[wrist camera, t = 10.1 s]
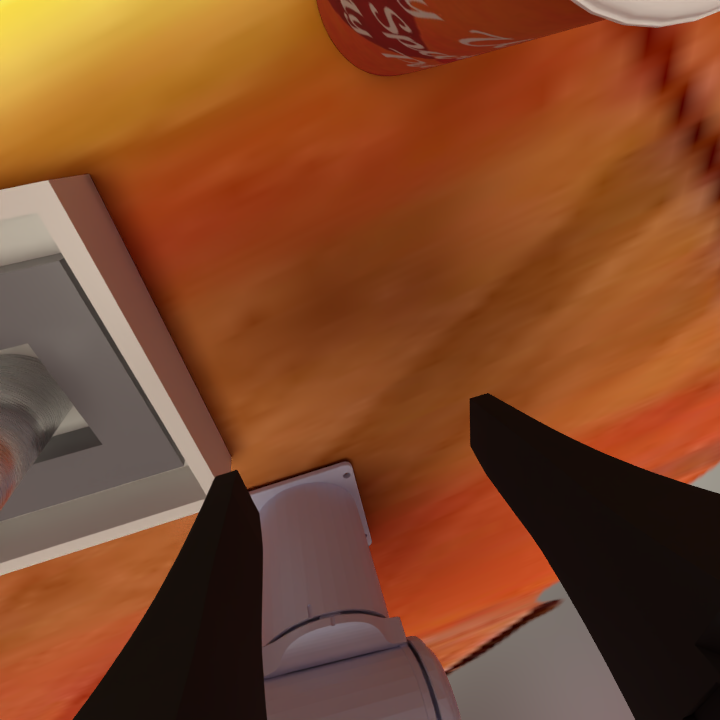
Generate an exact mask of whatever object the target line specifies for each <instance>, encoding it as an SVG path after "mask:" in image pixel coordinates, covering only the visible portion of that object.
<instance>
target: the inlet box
mask: <svg viewBox="0 0 720 720" xmlns="http://www.w3.org/2000/svg"><path fill="white" fill-rule="evenodd" d="M3 354H20V355H27V356H31V357H35V358H38V359H40V361H41V362H42V363H43V365H44V366H45V367H46V369H47V370H48V371H49V373H50V374H51V375H52V377H53V378H54V380H55V381H56V382H57V384H58V385H59V386H60V388H61V389H62V390H63V392H64V393H65V394H66V396H67V397H68V398H69V400H70V401H71V402H72V404H73V407H72V408H71V410H70V411H69V413H68V414H67V416H66V417H65V419H64V420H63V422H62V423H61V424H60V426H59V427H58V429H57V430H56V432H55V433H54V434H53V436H52V437H51V439H50V440H49V442H48V443H47V444H46V446H45V447H44V449H43V450H42V452H41V453H40V455H39V456H38V457H37V459H36V460H35V462H34V463H33V465H32V466H31V467H30V469H29V470H28V472H27V473H26V475H25V476H24V478H23V479H22V480H21V482H20V483H19V485H18V486H17V488H16V489H15V490H14V492H13V493H12V495H11V496H10V498H9V499H8V500H7V502H6V503H5V505H4V506H3V508H2V509H1V511H0V575H3V574H7V573H10V572H13V571H16V570H19V569H22V568H25V567H28V566H32V565H35V564H38V563H41V562H44V561H47V560H50V559H54V558H57V557H60V556H63V555H66V554H69V553H72V552H76V551H79V550H82V549H85V548H88V547H91V546H94V545H98V544H101V543H104V542H107V541H110V540H113V539H116V538H120V537H123V536H126V535H129V534H132V533H135V532H138V531H142V530H145V529H148V528H151V527H154V526H157V525H160V524H163V523H167V522H170V521H173V520H176V519H179V518H182V517H185V516H189V515H192V514H195V513H198V512H199V511H200V509H201V507H202V505H203V502H204V500H205V498H206V496H207V493H208V491H209V489H210V487H211V484H212V482H213V480H214V478H215V477H216V476H218V475H222V474H225V473H228V472H231V459H232V457H231V455H230V453H229V451H228V449H227V447H226V445H225V443H224V441H223V439H222V437H221V435H220V433H219V431H218V429H217V427H216V425H215V423H214V421H213V419H212V417H211V415H210V414H209V412H208V410H207V408H206V406H205V404H204V402H203V400H202V398H201V396H200V394H199V392H198V390H197V388H196V386H195V384H194V382H193V380H192V378H191V376H190V374H189V372H188V370H187V368H186V366H185V364H184V362H183V360H182V358H181V356H180V354H179V352H178V350H177V348H176V346H175V344H174V342H173V340H172V338H171V336H170V334H169V332H168V330H167V328H166V326H165V324H164V322H163V320H162V318H161V316H160V314H159V312H158V310H157V308H156V306H155V304H154V302H153V300H152V298H151V296H150V294H149V292H148V290H147V288H146V286H145V284H144V282H143V280H142V278H141V276H140V274H139V272H138V270H137V268H136V266H135V264H134V262H133V260H132V258H131V256H130V254H129V252H128V250H127V248H126V246H125V244H124V242H123V240H122V238H121V236H120V234H119V232H118V230H117V228H116V226H115V224H114V222H113V220H112V218H111V216H110V214H109V212H108V211H107V209H106V207H105V205H104V203H103V201H102V199H101V197H100V195H99V193H98V191H97V189H96V187H95V185H94V183H93V181H92V179H91V177H90V175H89V174H85V175H78V176H72V177H66V178H59V179H53V180H47V181H42V182H37V183H32V184H27V185H22V186H17V187H12V188H7V189H2V190H0V355H3Z"/></svg>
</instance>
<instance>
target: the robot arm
mask: <svg viewBox="0 0 720 720" xmlns="http://www.w3.org/2000/svg"><path fill="white" fill-rule="evenodd" d="M470 446H471V448H472V450H473V452H474V453H475V455H476V457H477V459H478V461H479V462H480V464H481V466H482V468H483V469H484V471H485V473H486V474H487V476H488V477H489V479H490V480H491V482H492V483H493V484H494V486H495V487H496V488H497V490H498V491H499V493H500V494H501V495H502V497H503V498H504V499H505V501H506V502H507V503H508V505H509V506H510V507H511V509H512V510H513V512H514V513H515V514H516V516H517V517H518V518H519V520H520V521H521V522H522V524H523V525H524V526H525V528H526V529H527V530H528V532H529V533H530V535H531V536H532V537H533V539H534V540H535V542H536V543H537V545H538V546H539V548H540V549H541V551H542V552H543V554H544V555H545V557H546V559H547V560H548V562H549V564H550V565H551V567H552V569H553V570H554V572H555V574H556V575H557V577H558V579H559V580H560V582H561V584H562V585H563V587H564V588H565V590H566V592H567V594H568V596H569V597H570V599H571V601H572V603H573V604H574V606H575V608H576V609H577V611H578V613H579V615H580V616H581V618H582V620H583V622H584V623H585V625H586V627H587V629H588V631H589V633H590V634H591V636H592V638H593V640H594V642H595V643H596V645H597V647H598V649H599V651H600V652H601V654H602V656H603V658H604V660H605V662H606V663H607V666H608V667H609V669H610V671H611V673H612V675H613V677H614V679H615V681H616V683H617V685H618V687H619V689H620V691H621V692H622V694H623V696H624V698H625V700H626V702H627V704H628V706H629V708H630V710H631V712H632V714H633V716H634V718H635V720H720V494H719V493H715V492H712V491H708V490H705V489H702V488H698V487H695V486H692V485H689V484H686V483H683V482H680V481H677V480H674V479H671V478H668V477H665V476H662V475H659V474H656V473H653V472H650V471H648V470H645V469H642V468H639V467H637V466H634V465H632V464H629V463H627V462H624V461H622V460H619V459H617V458H614V457H612V456H609V455H607V454H605V453H602V452H600V451H598V450H595V449H593V448H591V447H589V446H587V445H585V444H583V443H580V442H578V441H576V440H574V439H572V438H570V437H568V436H566V435H564V434H562V433H560V432H558V431H556V430H554V429H552V428H550V427H548V426H546V425H544V424H543V423H541V422H539V421H537V420H535V419H533V418H531V417H530V416H528V415H526V414H524V413H523V412H521V411H519V410H517V409H515V408H514V407H512V406H510V405H508V404H507V403H505V402H503V401H501V400H499V399H498V398H496V397H494V396H492V395H490V394H489V393H487V394H484V395H480V396H477V397H474V398H471V399H470ZM345 473H347V474H345ZM371 543H372V540H371V536H370V532H369V529H368V525H367V521H366V517H365V513H364V510H363V506H362V502H361V498H360V495H359V491H358V487H357V483H356V480H355V476H354V472H353V468H352V465H351V463H349V462H346V461H345V462H341V463H338V464H335V465H332V466H328V467H325V468H322V469H319V470H316V471H313V472H309V473H306V474H303V475H300V476H297V477H294V478H291V479H287V480H284V481H281V482H278V483H275V484H272V485H268V486H265V487H262V488H259V489H256V490H253V491H250V492H248V490H247V488H246V486H245V484H244V482H243V480H242V478H241V476H240V474H239V473H238V471H237V470H235V471H232V472H228V473H225V474H222V475H218V476H216V477H215V478H214V480H213V482H212V484H211V487H210V489H209V491H208V493H207V496H206V498H205V500H204V502H203V505H202V507H201V509H200V511H199V513H198V516H197V518H196V520H195V522H194V524H193V526H192V528H191V530H190V532H189V535H188V537H187V539H186V541H185V543H184V545H183V547H182V549H181V551H180V553H179V555H178V557H177V559H176V560H175V562H174V564H173V566H172V568H171V570H170V572H169V573H168V575H167V577H166V579H165V581H164V583H163V584H162V586H161V588H160V590H159V592H158V593H157V595H156V597H155V599H154V600H153V602H152V604H151V605H150V607H149V609H148V610H147V612H146V614H145V615H144V617H143V619H142V620H141V622H140V623H139V625H138V626H137V628H136V630H135V631H134V633H133V634H132V636H131V638H130V639H129V641H128V642H127V644H126V645H125V647H124V648H123V650H122V651H121V653H120V654H119V656H118V657H117V658H116V660H115V661H114V663H113V664H112V666H111V667H110V669H109V670H108V672H107V673H106V675H105V676H104V678H103V679H102V680H101V682H100V683H99V685H98V686H97V687H96V689H95V690H94V692H93V693H92V694H91V696H90V697H89V699H88V700H87V701H86V703H85V704H84V705H83V707H82V708H81V709H80V710H79V712H78V713H77V714H76V716H75V717H74V718H73V720H461V717H460V713H459V709H458V706H457V703H456V700H455V697H454V694H453V691H452V688H451V685H450V683H449V680H448V678H447V676H446V674H445V671H444V669H443V667H442V665H441V664H440V662H439V660H438V659H437V657H436V656H435V654H434V653H433V652H432V651H431V650H430V649H429V648H428V647H427V646H426V645H425V644H424V643H423V642H422V640H420V639H419V638H418V637H416V636H410V637H406V636H405V633H404V630H403V626H402V623H401V620H400V617H393V618H389V615H388V611H387V608H386V604H385V601H384V597H383V594H382V591H381V587H380V584H379V580H378V577H377V573H376V570H375V567H374V563H373V560H372V556H371V553H370V549H369V545H371Z"/></svg>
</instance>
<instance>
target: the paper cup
mask: <svg viewBox="0 0 720 720" xmlns="http://www.w3.org/2000/svg"><path fill="white" fill-rule="evenodd" d="M317 5H318V9H319V12H320V16H321V19H322V21H323V24H324V26H325V28H326V31H327V33H328V35H329V36H330V38H331V40H332V42H333V43H334V45H335V46H336V47H337V49H338V50H339V51H340V52H341V54H342V55H343V56H344V57H345V58H346V59H347V60H348V61H350V62H351V63H352V64H353V65H355V66H356V67H358V68H360V69H362V70H364V71H366V72H368V73H372V74H375V75H380V76H394V75H402V74H406V73H411V72H415V71H420V70H423V69H427V68H431V67H435V66H439V65H443V64H446V63H450V62H454V61H457V60H461V59H465V58H468V57H472V56H476V55H479V54H483V53H487V52H490V51H494V50H497V49H501V48H505V47H508V46H512V45H515V44H519V43H522V42H526V41H530V40H533V39H537V38H540V37H544V36H548V35H551V34H555V33H558V32H562V31H566V30H569V29H573V28H576V27H580V26H584V25H587V24H591V23H594V22H598V21H602V20H605V19H607V20H610V21H613V22H616V23H619V24H622V25H629V26H643V27H656V28H657V27H663V26H669V25H675V24H681V23H687V22H692V21H696V20H698V19H701V18H703V17H706V16H708V15H711V14H714V13H716V12H719V11H720V0H317Z"/></svg>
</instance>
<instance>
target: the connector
mask: <svg viewBox="0 0 720 720" xmlns="http://www.w3.org/2000/svg"><path fill="white" fill-rule="evenodd" d="M72 407H73V404H72V402H71V401H70V400H69V398H68V397H67V396H66V394H65V393H64V392H63V390H62V389H61V388H60V386H59V385H58V384H57V382H56V381H55V380H54V378H53V377H52V375H51V374H50V373H49V371H48V370H47V369H46V367H45V366H44V365H43V363H42V362H41V361H40V359H38V358H35V357H31V356H27V355H20V354H3V355H0V511H1V509H2V508H3V506H4V505H5V503H6V502H7V500H8V499H9V498H10V496H11V495H12V493H13V492H14V490H15V489H16V488H17V486H18V485H19V483H20V482H21V480H22V479H23V478H24V476H25V475H26V473H27V472H28V470H29V469H30V467H31V466H32V465H33V463H34V462H35V460H36V459H37V457H38V456H39V455H40V453H41V452H42V450H43V449H44V447H45V446H46V444H47V443H48V442H49V440H50V439H51V437H52V436H53V434H54V433H55V432H56V430H57V429H58V427H59V426H60V424H61V423H62V422H63V420H64V419H65V417H66V416H67V414H68V413H69V411H70V410H71V408H72Z"/></svg>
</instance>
